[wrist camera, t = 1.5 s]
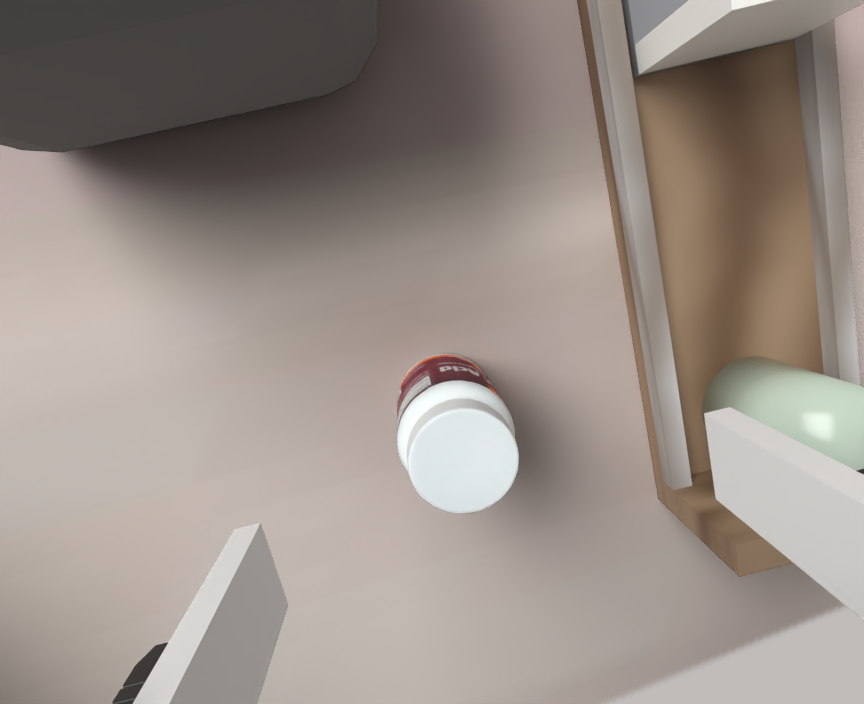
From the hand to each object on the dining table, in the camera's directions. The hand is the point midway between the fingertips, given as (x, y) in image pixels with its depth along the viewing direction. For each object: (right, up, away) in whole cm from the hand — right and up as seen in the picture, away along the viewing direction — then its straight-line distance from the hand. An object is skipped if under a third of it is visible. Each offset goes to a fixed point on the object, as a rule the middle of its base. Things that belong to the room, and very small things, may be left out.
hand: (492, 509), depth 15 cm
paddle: (+10, +19, +8) cm, 23 cm away
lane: (+12, +11, +11) cm, 20 cm away
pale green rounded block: (+14, +2, +12) cm, 19 cm away
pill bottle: (-1, +2, +12) cm, 12 cm away
